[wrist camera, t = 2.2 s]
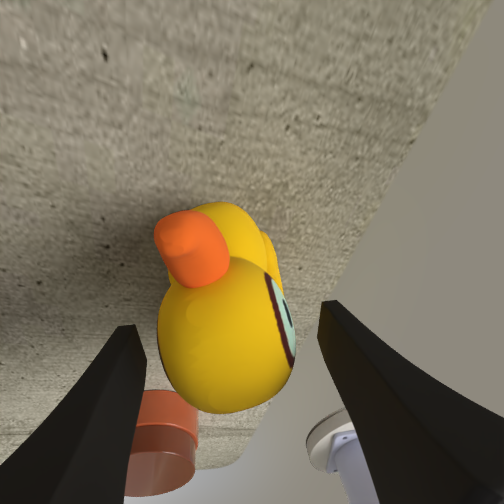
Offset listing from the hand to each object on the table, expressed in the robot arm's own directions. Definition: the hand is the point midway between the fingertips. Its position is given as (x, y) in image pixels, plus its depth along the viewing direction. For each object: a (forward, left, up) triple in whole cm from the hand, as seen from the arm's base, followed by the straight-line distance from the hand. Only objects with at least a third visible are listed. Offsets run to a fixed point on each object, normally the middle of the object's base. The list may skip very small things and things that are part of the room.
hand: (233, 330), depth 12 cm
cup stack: (+7, +16, -7) cm, 19 cm away
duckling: (0, 0, -7) cm, 7 cm away
